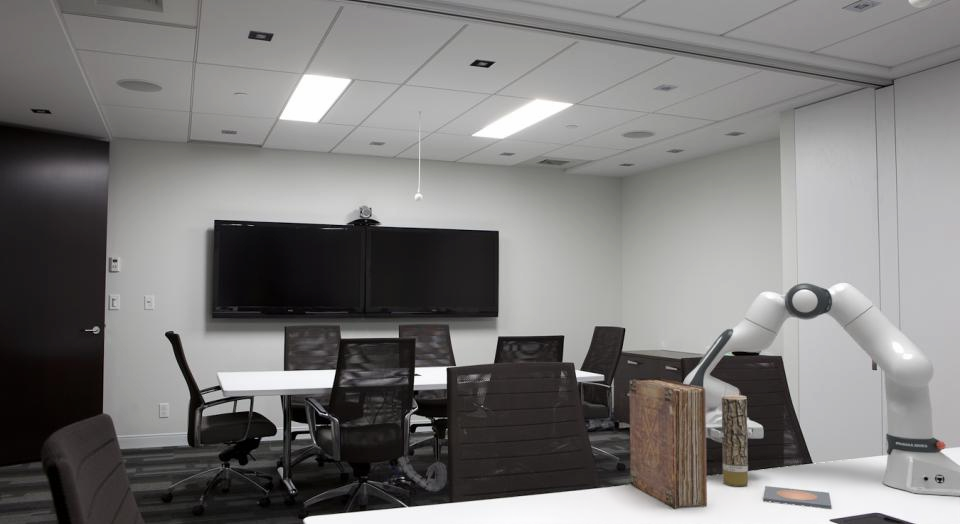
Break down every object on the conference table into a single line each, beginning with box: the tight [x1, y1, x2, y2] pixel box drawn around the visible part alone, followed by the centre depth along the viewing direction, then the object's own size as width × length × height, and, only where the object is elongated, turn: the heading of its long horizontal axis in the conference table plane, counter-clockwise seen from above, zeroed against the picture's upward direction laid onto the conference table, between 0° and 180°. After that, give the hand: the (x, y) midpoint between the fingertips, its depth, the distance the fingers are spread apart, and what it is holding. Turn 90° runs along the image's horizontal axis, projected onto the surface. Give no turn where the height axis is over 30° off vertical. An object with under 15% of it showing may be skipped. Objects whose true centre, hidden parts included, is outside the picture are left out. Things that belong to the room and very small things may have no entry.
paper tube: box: [721, 394, 749, 487], centre depth 202 cm, size 7×7×25 cm
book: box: [628, 377, 708, 510], centre depth 189 cm, size 25×9×30 cm, turn 13°
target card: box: [762, 485, 832, 510], centre depth 186 cm, size 16×14×1 cm
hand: (735, 435), depth 201 cm, fingers closed on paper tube, 7 cm apart
